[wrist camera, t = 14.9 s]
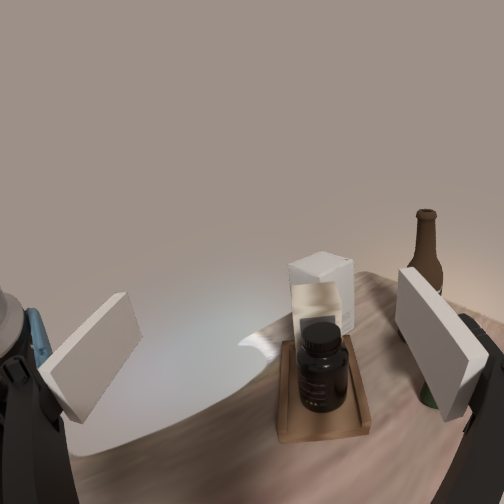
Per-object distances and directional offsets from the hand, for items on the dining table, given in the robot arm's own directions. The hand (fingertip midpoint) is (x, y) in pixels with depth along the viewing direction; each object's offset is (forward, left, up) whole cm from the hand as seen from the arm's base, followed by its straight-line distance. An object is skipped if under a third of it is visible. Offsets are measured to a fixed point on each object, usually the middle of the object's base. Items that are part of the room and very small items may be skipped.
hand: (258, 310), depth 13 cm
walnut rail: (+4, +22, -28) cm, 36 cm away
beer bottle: (+24, +33, -28) cm, 49 cm away
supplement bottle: (+4, +18, -26) cm, 32 cm away
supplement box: (+6, +39, -28) cm, 48 cm away
